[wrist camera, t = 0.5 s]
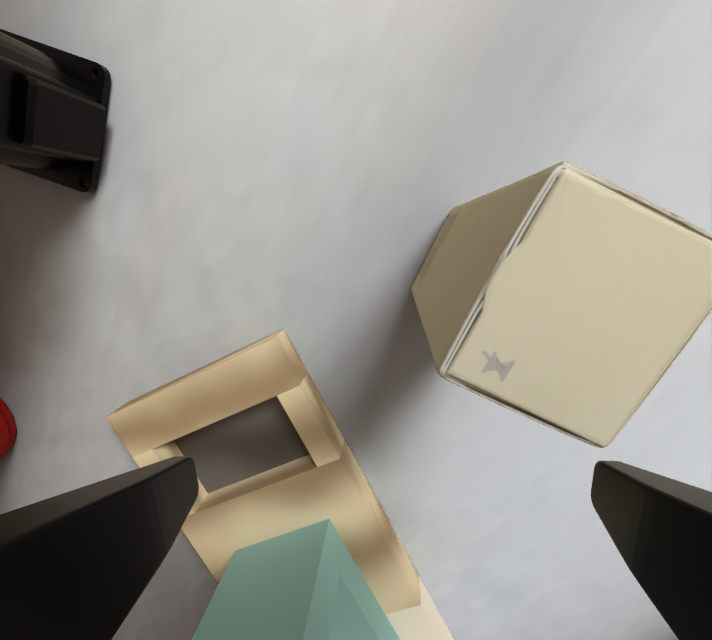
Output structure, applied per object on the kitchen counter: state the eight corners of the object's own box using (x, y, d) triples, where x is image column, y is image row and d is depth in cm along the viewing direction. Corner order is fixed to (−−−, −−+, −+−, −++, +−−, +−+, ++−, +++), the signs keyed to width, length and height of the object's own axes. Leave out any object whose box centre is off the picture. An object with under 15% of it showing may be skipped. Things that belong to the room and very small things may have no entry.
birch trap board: (128, 402, 24) (105, 417, 22) (284, 328, 22) (273, 338, 20) (371, 769, 31) (369, 805, 29) (510, 743, 29) (518, 781, 27)
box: (478, 322, 21) (603, 469, 8) (407, 288, 21) (427, 386, 8) (529, 234, 19) (773, 254, 7) (453, 197, 19) (562, 151, 7)
